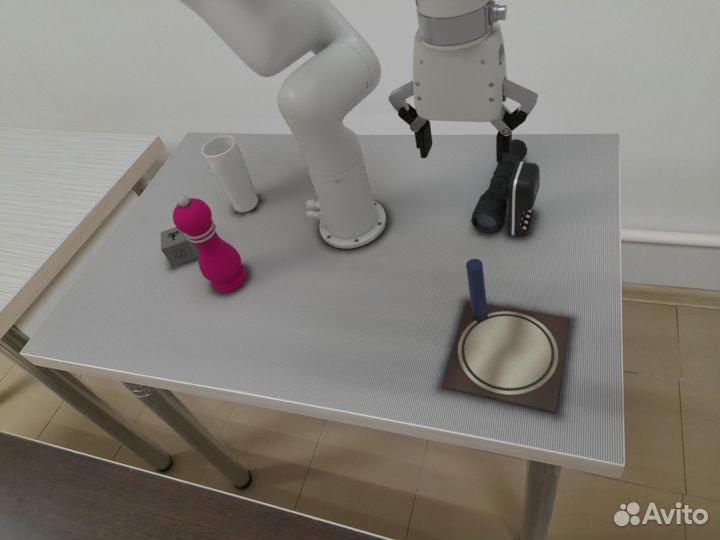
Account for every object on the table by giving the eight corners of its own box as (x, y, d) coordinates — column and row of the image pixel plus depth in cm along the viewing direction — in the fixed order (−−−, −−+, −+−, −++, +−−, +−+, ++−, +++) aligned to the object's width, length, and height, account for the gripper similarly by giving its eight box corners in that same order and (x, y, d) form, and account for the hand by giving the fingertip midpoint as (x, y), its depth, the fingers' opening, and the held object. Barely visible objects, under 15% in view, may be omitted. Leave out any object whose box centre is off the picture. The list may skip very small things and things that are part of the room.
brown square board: (441, 387, 73) (441, 384, 72) (466, 302, 81) (466, 299, 81) (555, 413, 67) (556, 411, 66) (569, 320, 76) (570, 316, 75)
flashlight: (470, 231, 91) (469, 210, 87) (503, 157, 102) (503, 136, 98) (499, 236, 89) (499, 214, 85) (529, 160, 100) (530, 138, 96)
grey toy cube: (196, 241, 104) (185, 223, 100) (198, 258, 101) (186, 240, 97) (172, 249, 104) (160, 232, 100) (173, 267, 100) (160, 249, 97)
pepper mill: (207, 275, 97) (155, 193, 82) (243, 258, 98) (198, 175, 83) (215, 301, 92) (161, 219, 77) (253, 284, 93) (207, 200, 78)
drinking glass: (225, 214, 108) (193, 155, 97) (241, 192, 112) (213, 133, 101) (252, 218, 105) (223, 158, 94) (268, 195, 109) (242, 135, 98)
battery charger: (530, 239, 87) (533, 187, 79) (507, 236, 88) (508, 184, 80) (538, 211, 91) (542, 158, 82) (516, 208, 92) (517, 156, 84)
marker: (471, 320, 78) (464, 269, 71) (474, 309, 79) (468, 257, 72) (486, 322, 77) (480, 270, 70) (489, 311, 78) (484, 259, 71)
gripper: (547, -2, 53) (538, 139, 66) (387, 6, 59) (407, 133, 72) (536, 35, 49) (528, 178, 61) (365, 39, 55) (390, 168, 68)
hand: (463, 153), depth 67 cm, fingers open, 9 cm apart
